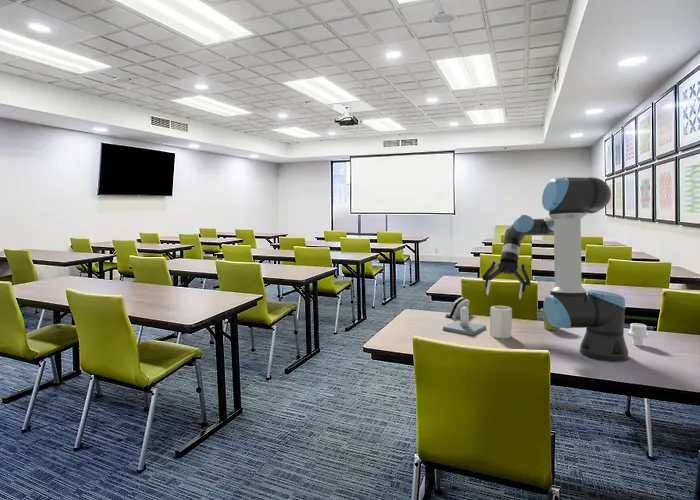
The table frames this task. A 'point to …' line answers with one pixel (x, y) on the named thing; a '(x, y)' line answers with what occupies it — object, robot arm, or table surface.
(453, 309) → the grey curved piece
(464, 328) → the post base
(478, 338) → the table surface
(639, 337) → the white figurine planter
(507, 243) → the robot arm
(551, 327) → the plant pot
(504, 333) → the white faceted cup
